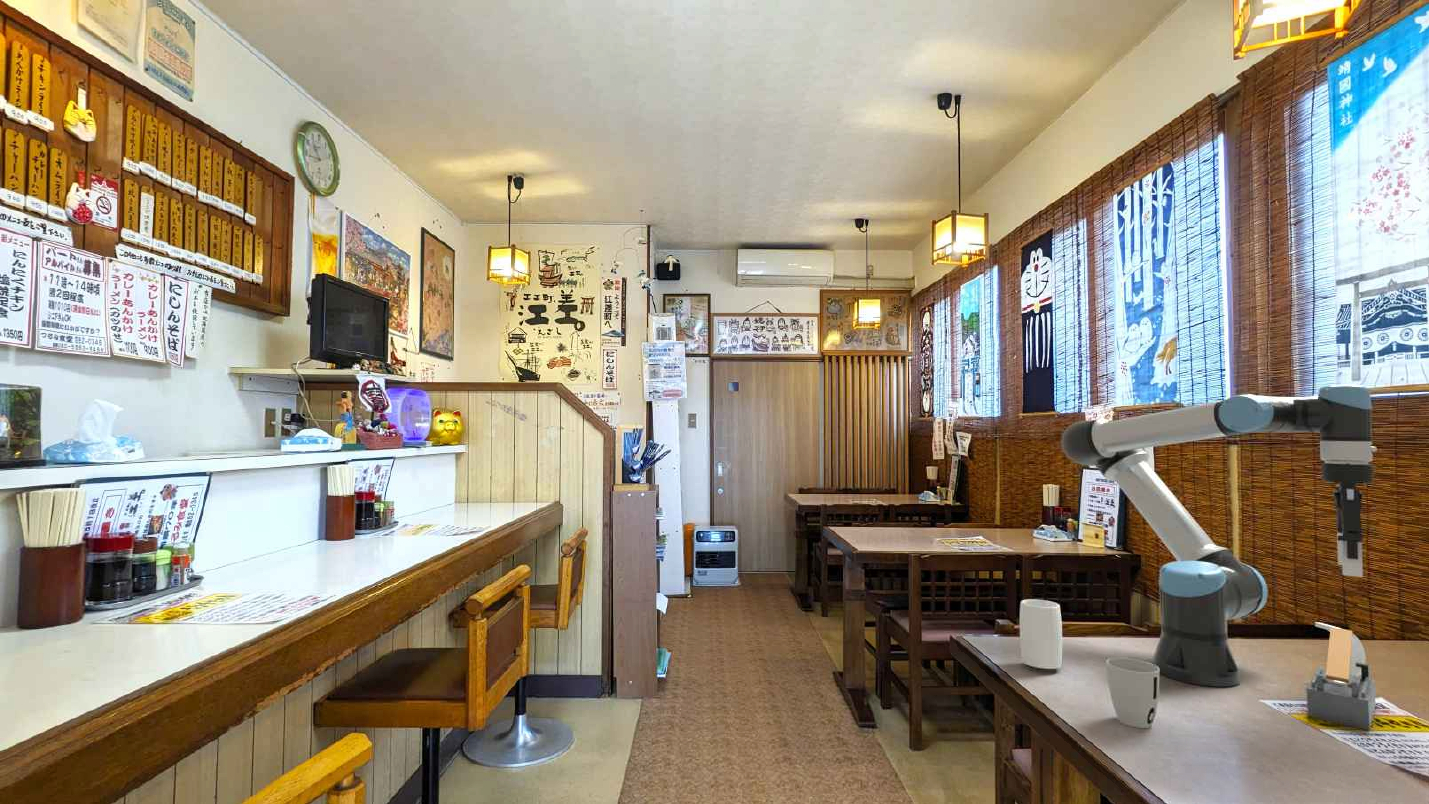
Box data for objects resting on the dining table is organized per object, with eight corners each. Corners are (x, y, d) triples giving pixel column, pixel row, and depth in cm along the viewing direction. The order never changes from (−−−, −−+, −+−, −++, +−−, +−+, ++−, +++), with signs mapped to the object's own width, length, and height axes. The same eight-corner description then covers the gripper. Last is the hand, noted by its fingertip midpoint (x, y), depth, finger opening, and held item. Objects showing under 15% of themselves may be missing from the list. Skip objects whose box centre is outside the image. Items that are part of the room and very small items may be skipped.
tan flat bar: (1349, 683, 119) (1348, 679, 118) (1326, 679, 121) (1326, 674, 121) (1352, 634, 127) (1351, 630, 126) (1331, 631, 129) (1330, 627, 129)
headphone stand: (1318, 680, 139) (1314, 622, 140) (1344, 679, 139) (1340, 621, 140) (1340, 688, 134) (1337, 628, 135) (1367, 687, 135) (1363, 627, 136)
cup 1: (1053, 678, 140) (1051, 610, 141) (1014, 667, 146) (1012, 602, 147) (1069, 669, 145) (1067, 603, 146) (1030, 659, 152) (1029, 597, 153)
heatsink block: (1369, 730, 114) (1367, 685, 115) (1308, 716, 120) (1305, 673, 121) (1375, 706, 125) (1373, 665, 126) (1318, 694, 131) (1316, 655, 132)
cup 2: (1162, 735, 112) (1160, 675, 113) (1107, 725, 116) (1105, 667, 117) (1160, 719, 119) (1158, 662, 120) (1108, 709, 123) (1106, 654, 124)
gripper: (1380, 465, 119) (1384, 584, 118) (1366, 461, 138) (1369, 564, 137) (1324, 463, 124) (1327, 577, 123) (1318, 460, 143) (1320, 559, 142)
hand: (1349, 570), depth 130 cm, fingers open, 13 cm apart
